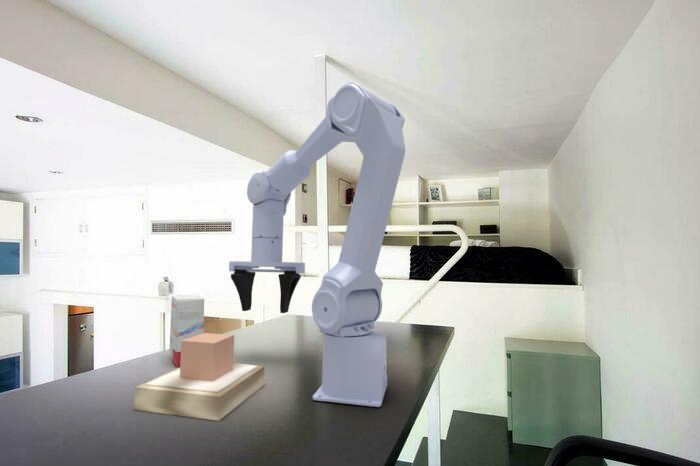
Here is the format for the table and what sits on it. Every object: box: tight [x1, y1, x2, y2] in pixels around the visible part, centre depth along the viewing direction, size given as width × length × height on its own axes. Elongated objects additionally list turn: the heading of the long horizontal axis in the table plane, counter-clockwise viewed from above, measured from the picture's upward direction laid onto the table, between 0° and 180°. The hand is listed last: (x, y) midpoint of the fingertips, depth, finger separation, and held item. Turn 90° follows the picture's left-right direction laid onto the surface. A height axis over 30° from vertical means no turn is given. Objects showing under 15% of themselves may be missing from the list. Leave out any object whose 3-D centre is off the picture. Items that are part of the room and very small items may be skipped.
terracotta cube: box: [179, 332, 235, 382], centre depth 49 cm, size 5×5×5 cm
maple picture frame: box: [133, 362, 266, 422], centre depth 49 cm, size 12×12×3 cm
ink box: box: [169, 293, 205, 368], centre depth 65 cm, size 9×5×12 cm, turn 33°
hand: (265, 311), depth 64 cm, fingers open, 7 cm apart
